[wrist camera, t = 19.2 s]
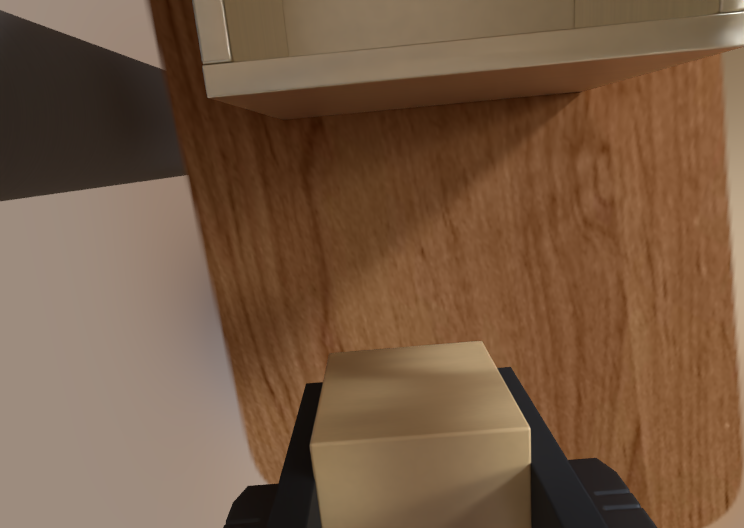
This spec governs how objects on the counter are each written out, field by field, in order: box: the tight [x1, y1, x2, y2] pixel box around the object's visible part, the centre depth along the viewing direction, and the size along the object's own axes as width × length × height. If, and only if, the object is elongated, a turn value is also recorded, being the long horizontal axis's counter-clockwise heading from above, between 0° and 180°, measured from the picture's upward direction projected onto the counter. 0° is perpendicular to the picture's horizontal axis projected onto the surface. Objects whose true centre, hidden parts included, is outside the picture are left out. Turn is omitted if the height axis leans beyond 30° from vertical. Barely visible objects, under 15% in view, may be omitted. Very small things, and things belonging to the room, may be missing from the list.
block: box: [310, 341, 532, 528], centre depth 12 cm, size 4×4×4 cm
